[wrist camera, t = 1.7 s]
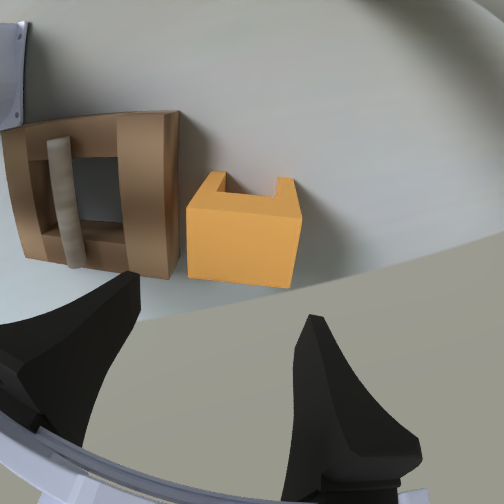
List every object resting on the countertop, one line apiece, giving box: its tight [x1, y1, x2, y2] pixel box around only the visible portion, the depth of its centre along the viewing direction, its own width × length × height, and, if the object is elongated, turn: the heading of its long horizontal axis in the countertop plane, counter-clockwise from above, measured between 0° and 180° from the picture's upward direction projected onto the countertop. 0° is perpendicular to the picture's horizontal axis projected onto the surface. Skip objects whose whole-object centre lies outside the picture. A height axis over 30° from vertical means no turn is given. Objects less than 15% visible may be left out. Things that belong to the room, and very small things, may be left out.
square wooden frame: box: [2, 111, 180, 280], centre depth 18 cm, size 11×14×5 cm
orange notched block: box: [186, 171, 303, 288], centre depth 17 cm, size 4×5×6 cm
